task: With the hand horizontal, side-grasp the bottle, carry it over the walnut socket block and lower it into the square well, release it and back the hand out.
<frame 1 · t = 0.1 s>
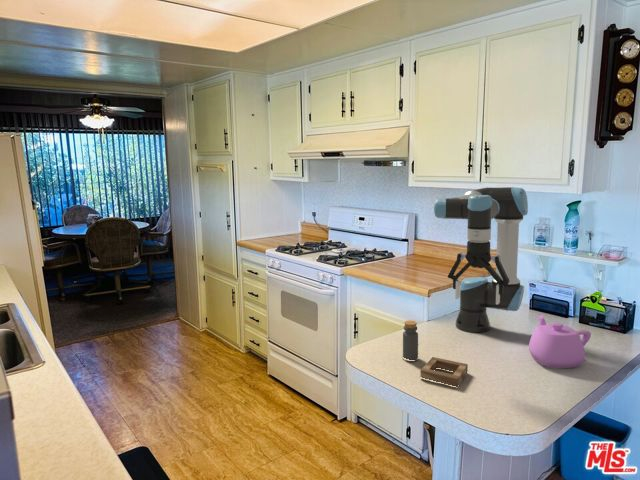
hand: (477, 300, 155), 28 cm above the counter, tool pointing down, fingers open, 13 cm apart
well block: (444, 376, 159), on the counter
teapot: (554, 361, 169), on the counter
bottle: (410, 359, 175), on the counter
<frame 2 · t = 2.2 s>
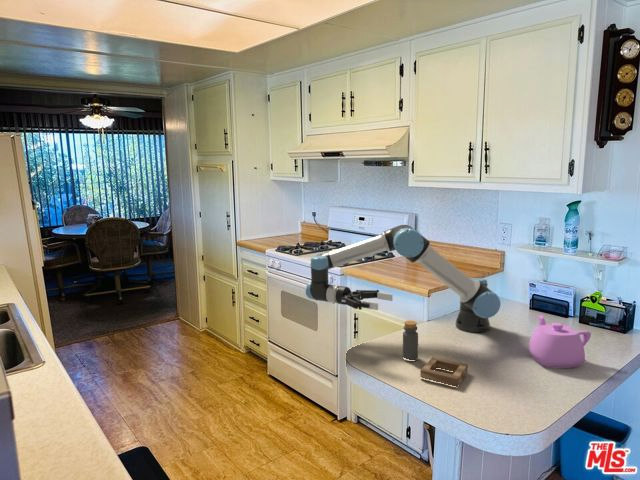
hand: (385, 301, 177), 22 cm above the counter, tool horizontal, fingers open, 13 cm apart
nothing on the counter moved.
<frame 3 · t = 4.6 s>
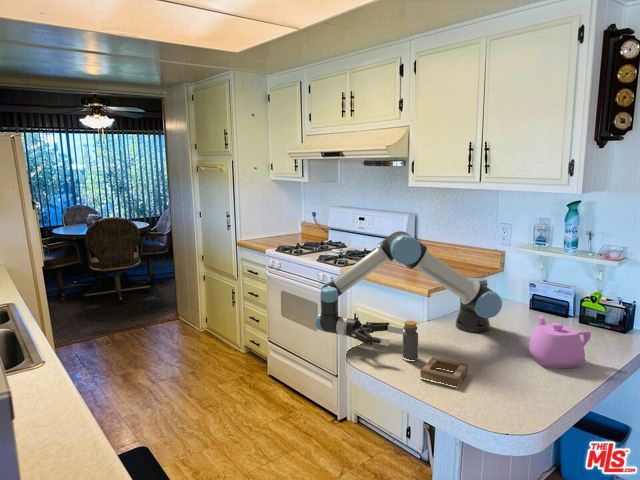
hand: (396, 336, 176), 8 cm above the counter, tool horizontal, fingers open, 13 cm apart
nothing on the counter moved.
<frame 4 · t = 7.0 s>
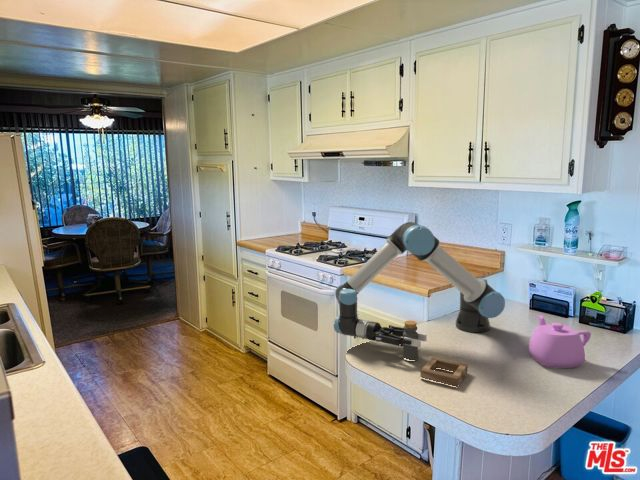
hand: (423, 340, 170), 9 cm above the counter, tool horizontal, fingers closed on bottle, 6 cm apart
bottle: (410, 359, 175), on the counter, touching gripper
everything else where it was.
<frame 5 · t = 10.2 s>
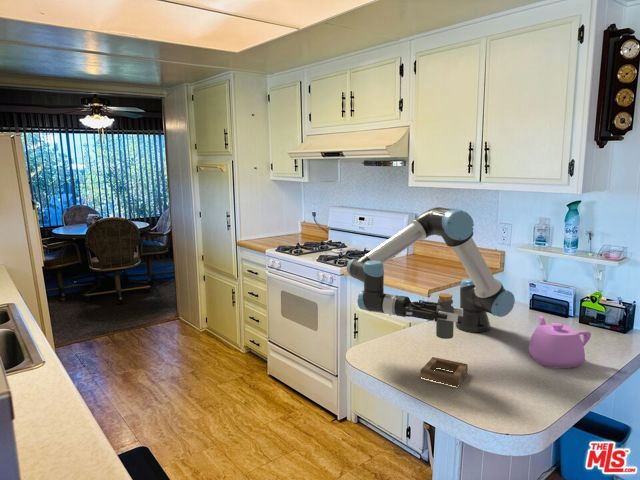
hand: (459, 315, 153), 24 cm above the counter, tool horizontal, fingers closed on bottle, 6 cm apart
bottle: (444, 336, 157), point 15 cm above the counter, touching gripper
everything else where it was.
when the fingers open (9 cm above the counter, at t = 13.8 s): bottle stays where it is, resting in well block.
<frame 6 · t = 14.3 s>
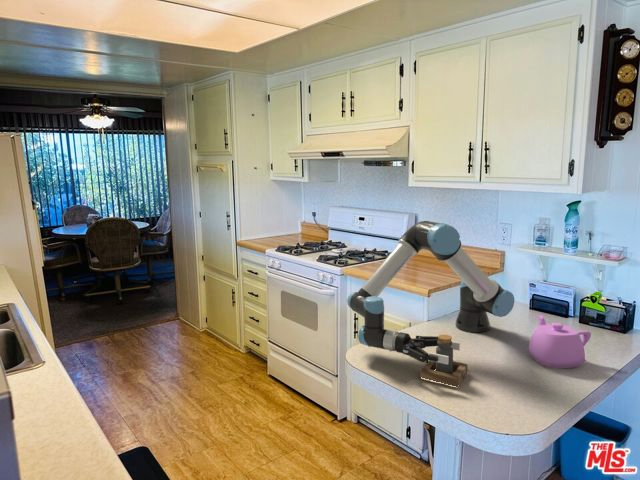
hand: (454, 353, 156), 9 cm above the counter, tool horizontal, fingers open, 13 cm apart
bottle: (444, 376, 159), resting in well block
everything else where it was.
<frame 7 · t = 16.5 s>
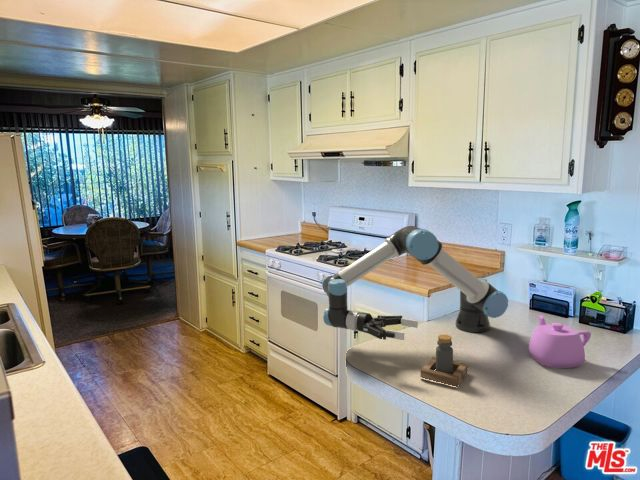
hand: (410, 330, 165), 15 cm above the counter, tool horizontal, fingers open, 13 cm apart
nothing on the counter moved.
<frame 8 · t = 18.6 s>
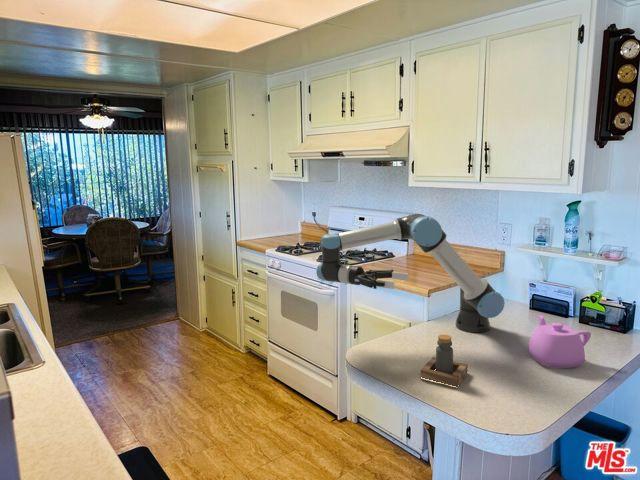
hand: (401, 280, 168), 32 cm above the counter, tool horizontal, fingers open, 13 cm apart
nothing on the counter moved.
at the end: bottle 0.0 cm off-centre on the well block, point 0.0 cm above the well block's base; bottle tilted 0°; the gripper is holding nothing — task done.
